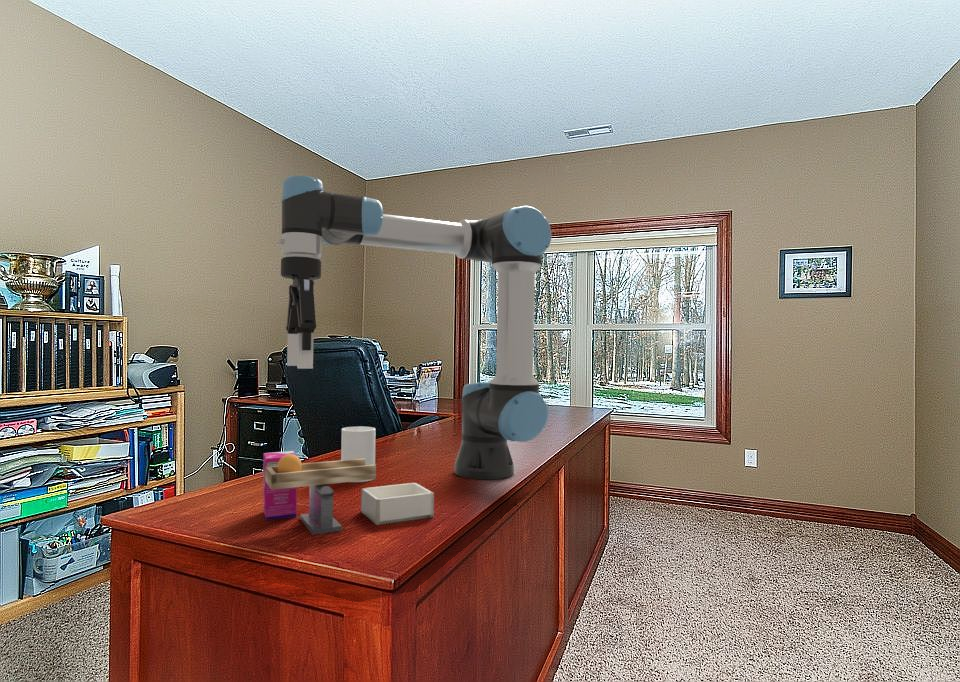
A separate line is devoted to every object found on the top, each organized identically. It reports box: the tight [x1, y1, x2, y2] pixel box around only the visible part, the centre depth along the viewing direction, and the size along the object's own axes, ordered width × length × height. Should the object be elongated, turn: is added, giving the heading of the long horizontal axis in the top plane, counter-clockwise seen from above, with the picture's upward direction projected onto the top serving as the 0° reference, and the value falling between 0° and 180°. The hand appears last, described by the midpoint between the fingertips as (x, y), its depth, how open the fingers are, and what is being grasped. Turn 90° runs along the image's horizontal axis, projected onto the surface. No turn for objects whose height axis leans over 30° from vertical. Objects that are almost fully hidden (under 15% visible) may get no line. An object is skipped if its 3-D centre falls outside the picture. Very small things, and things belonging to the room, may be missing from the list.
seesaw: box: [265, 458, 377, 490], centre depth 106 cm, size 18×13×2 cm
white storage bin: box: [360, 482, 435, 526], centre depth 110 cm, size 11×9×4 cm
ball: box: [278, 454, 303, 473], centre depth 100 cm, size 4×4×4 cm
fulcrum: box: [299, 484, 343, 536], centre depth 103 cm, size 5×10×8 cm, turn 29°
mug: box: [340, 425, 377, 483], centre depth 141 cm, size 12×8×12 cm
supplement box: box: [262, 450, 298, 521], centre depth 109 cm, size 6×6×12 cm
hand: (299, 367), depth 112 cm, fingers open, 13 cm apart
